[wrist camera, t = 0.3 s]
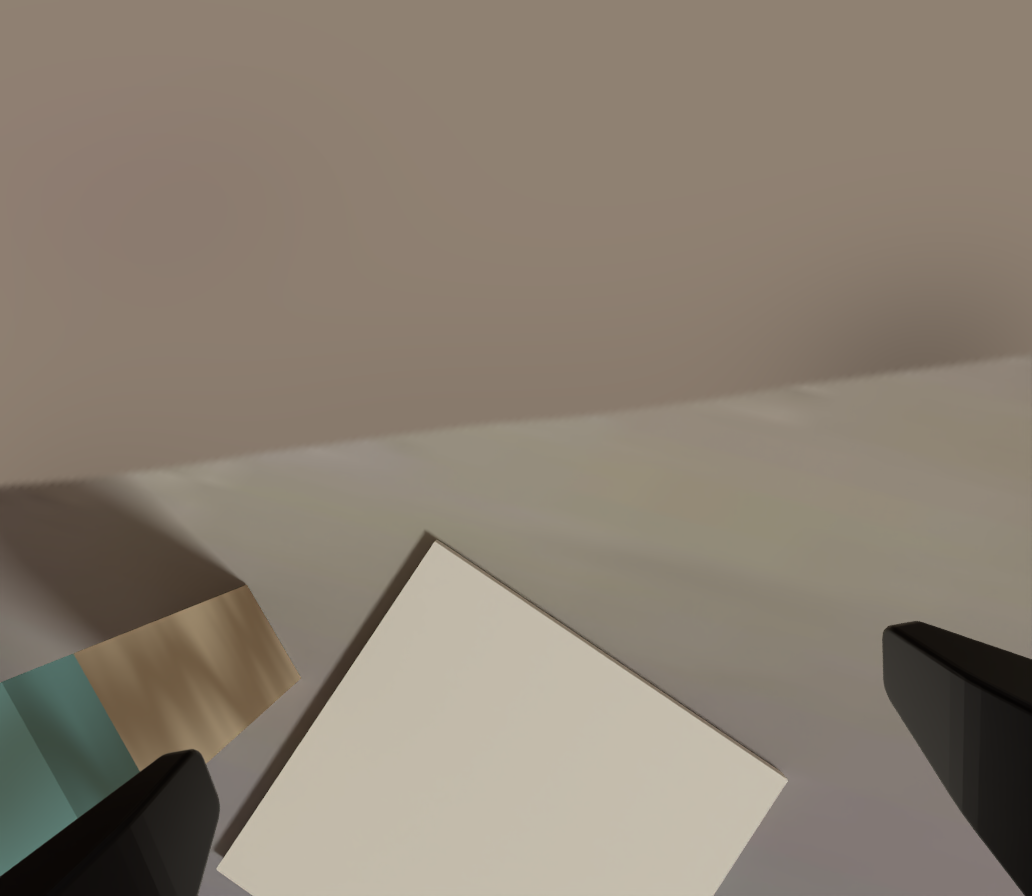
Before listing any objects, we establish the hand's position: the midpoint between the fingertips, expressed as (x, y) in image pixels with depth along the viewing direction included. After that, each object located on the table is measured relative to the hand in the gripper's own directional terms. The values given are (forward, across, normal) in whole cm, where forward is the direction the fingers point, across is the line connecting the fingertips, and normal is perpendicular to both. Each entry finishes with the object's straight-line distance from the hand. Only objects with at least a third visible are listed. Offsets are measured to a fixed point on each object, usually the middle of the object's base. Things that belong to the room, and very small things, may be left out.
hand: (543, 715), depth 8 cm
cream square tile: (+12, +3, +13) cm, 18 cm away
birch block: (+14, +12, +6) cm, 19 cm away
